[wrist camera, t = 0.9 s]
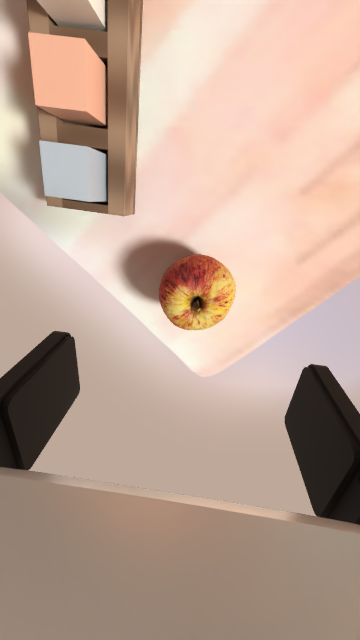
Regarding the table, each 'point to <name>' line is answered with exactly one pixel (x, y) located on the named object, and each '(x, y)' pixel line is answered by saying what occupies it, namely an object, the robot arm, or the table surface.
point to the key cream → (77, 13)
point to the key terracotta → (68, 78)
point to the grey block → (74, 172)
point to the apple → (196, 292)
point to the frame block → (122, 102)
